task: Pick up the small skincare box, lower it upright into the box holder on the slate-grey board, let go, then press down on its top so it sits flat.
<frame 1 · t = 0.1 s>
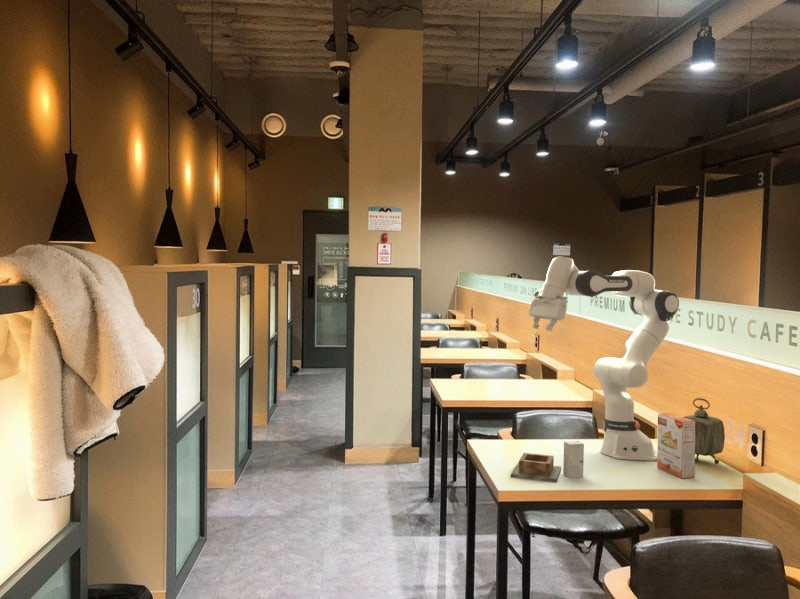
hand: (541, 329, 239), 52 cm above the table, tool tilted 20°, fingers open, 8 cm apart
cracker box: (675, 473, 227), on the table
box holder: (536, 472, 226), on the table
skincare box: (573, 476, 223), on the table
tabletop clock: (699, 462, 241), on the table
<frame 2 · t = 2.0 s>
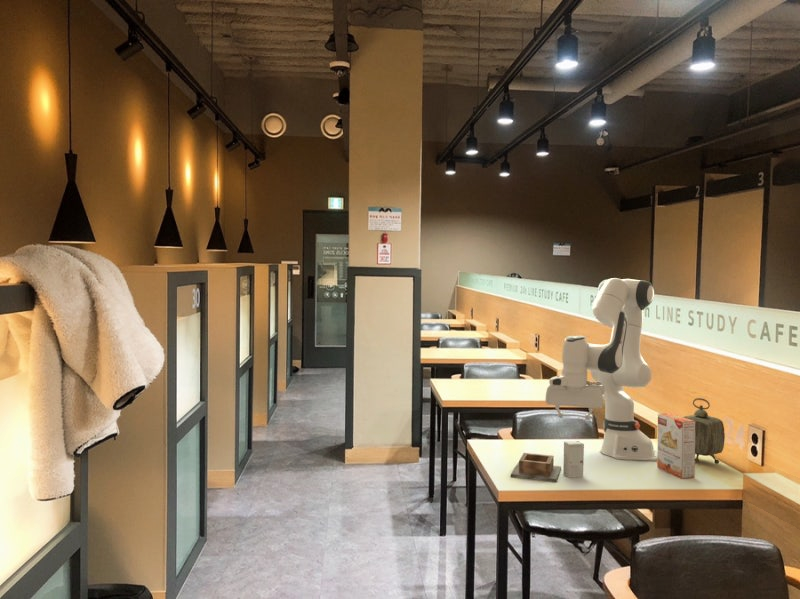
hand: (573, 418, 223), 21 cm above the table, tool pointing down, fingers open, 8 cm apart
nothing on the table moved.
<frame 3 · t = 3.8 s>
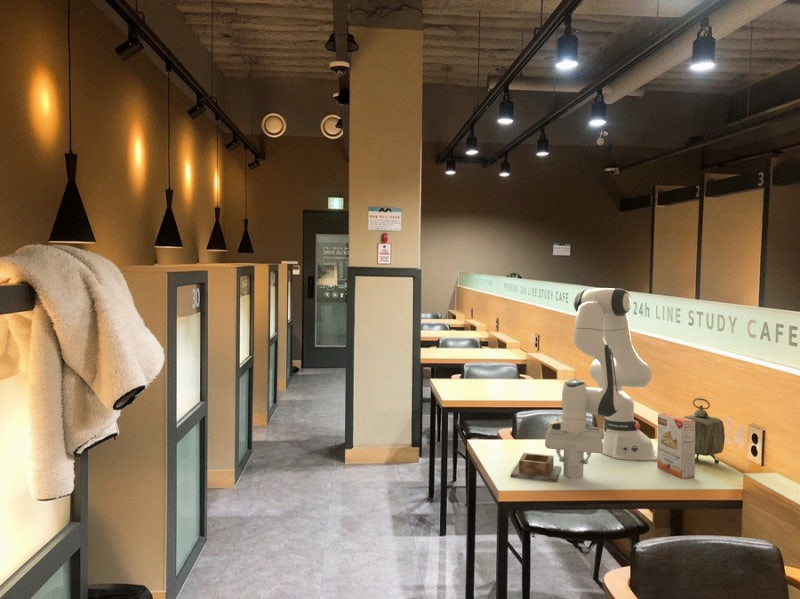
hand: (573, 462, 223), 5 cm above the table, tool pointing down, fingers closed on skincare box, 7 cm apart
skincare box: (573, 475, 223), on the table, touching gripper
everything else where it was.
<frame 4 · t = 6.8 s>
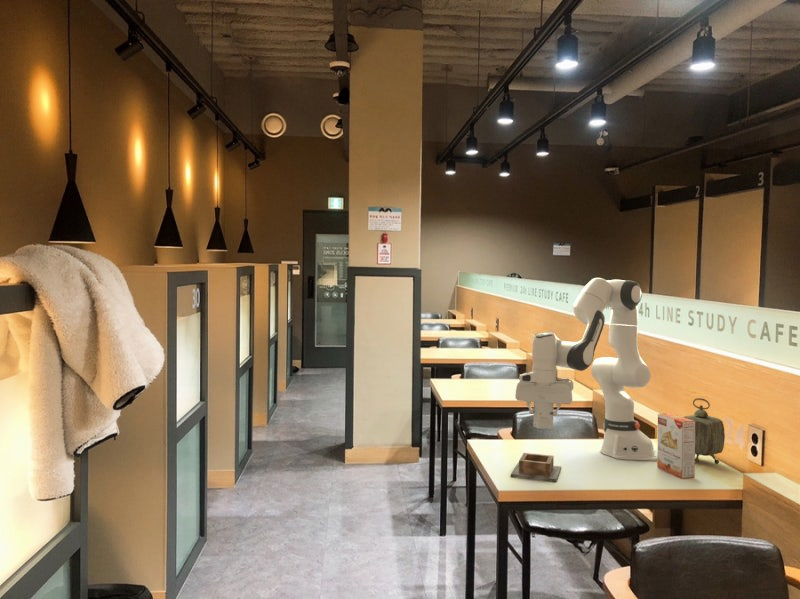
hand: (543, 414, 225), 22 cm above the table, tool pointing down, fingers closed on skincare box, 7 cm apart
skincare box: (543, 427, 225), point 17 cm above the table, touching gripper
everything else where it was.
when the fingers open (7 cm above the table, at t = 9.7 s): skincare box drops 1 cm, resting on box holder.
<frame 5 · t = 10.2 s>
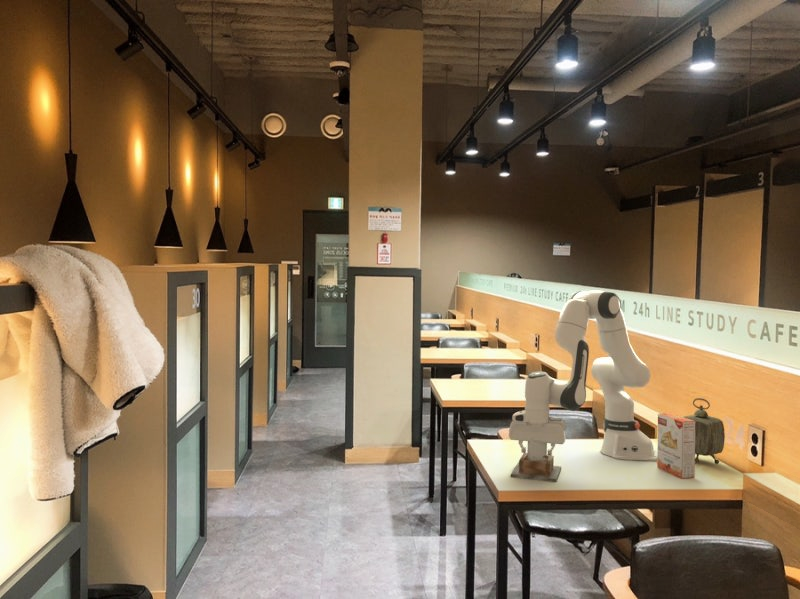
hand: (536, 453, 226), 7 cm above the table, tool pointing down, fingers open, 8 cm apart
skincare box: (536, 470, 226), point 1 cm above the table, touching box holder
everything else where it was.
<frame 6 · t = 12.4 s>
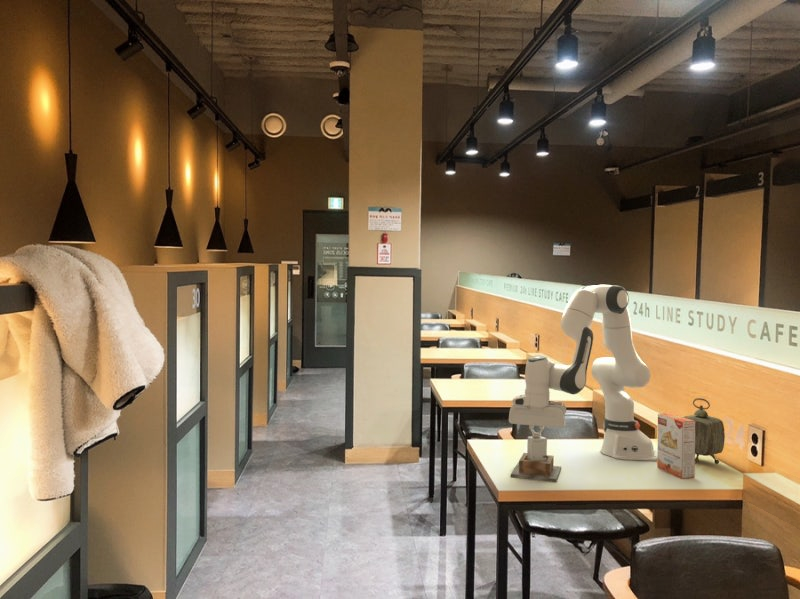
hand: (536, 437, 226), 13 cm above the table, tool pointing down, fingers closed, pressing on skincare box
skincare box: (536, 470, 226), point 1 cm above the table, touching box holder, gripper
everything else where it was.
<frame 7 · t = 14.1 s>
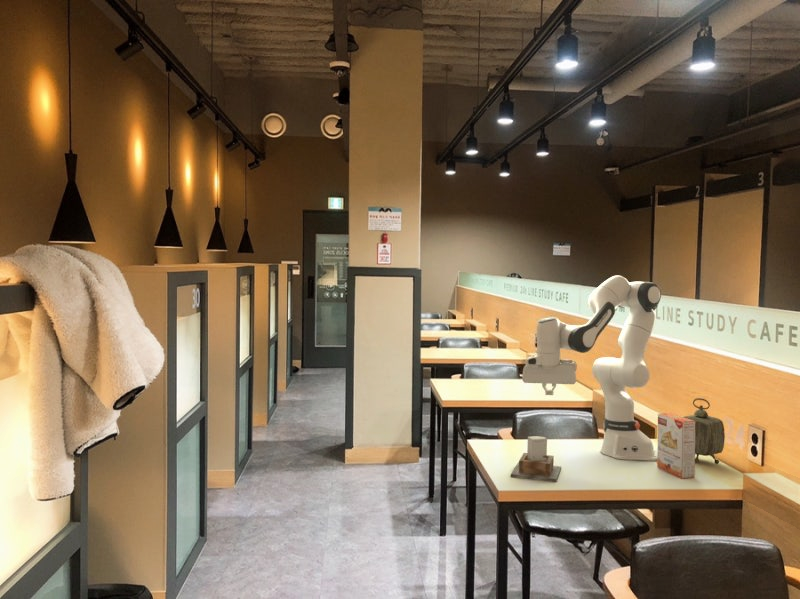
hand: (549, 394, 238), 27 cm above the table, tool pointing down, fingers closed
skincare box: (536, 470, 226), point 1 cm above the table, touching box holder
everything else where it was.
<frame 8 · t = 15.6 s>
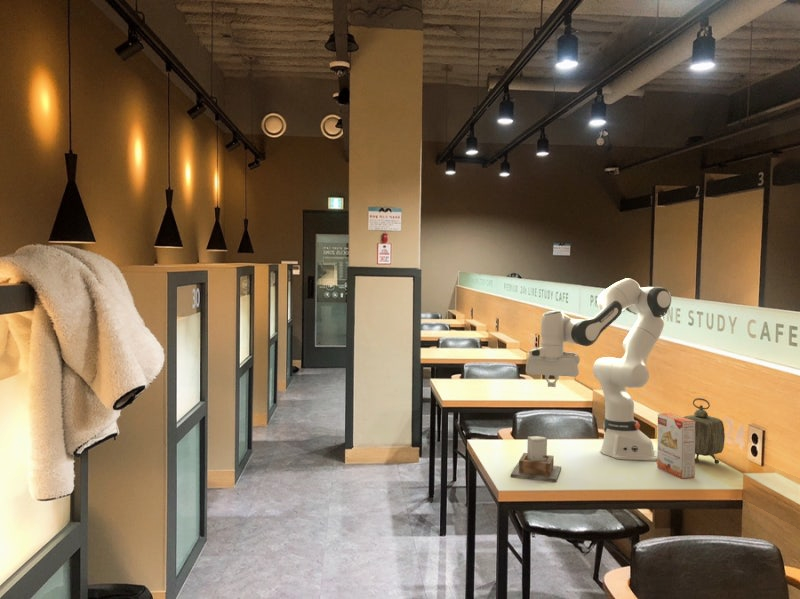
hand: (551, 386, 242), 29 cm above the table, tool pointing down, fingers closed
nothing on the table moved.
at the end: skincare box 0.1 cm off-centre on the box holder, point 0.8 cm above the box holder's base; skincare box tilted 0°; the gripper is holding nothing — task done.
